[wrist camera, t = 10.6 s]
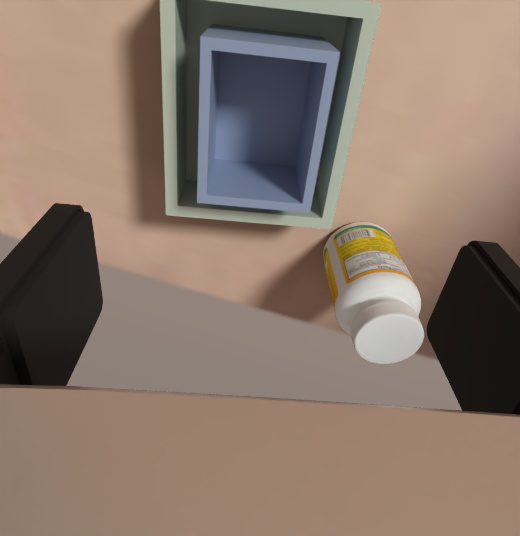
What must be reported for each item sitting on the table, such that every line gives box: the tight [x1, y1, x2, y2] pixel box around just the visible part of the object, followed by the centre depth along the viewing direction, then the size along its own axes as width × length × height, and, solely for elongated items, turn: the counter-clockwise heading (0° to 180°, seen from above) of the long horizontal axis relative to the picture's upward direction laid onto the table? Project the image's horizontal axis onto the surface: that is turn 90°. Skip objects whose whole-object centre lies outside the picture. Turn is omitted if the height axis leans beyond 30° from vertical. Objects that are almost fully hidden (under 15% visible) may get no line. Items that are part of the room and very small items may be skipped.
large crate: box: [160, 0, 382, 229], centre depth 24 cm, size 10×12×4 cm
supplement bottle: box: [323, 222, 424, 364], centre depth 28 cm, size 5×5×10 cm
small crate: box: [197, 24, 340, 213], centre depth 23 cm, size 6×8×6 cm
